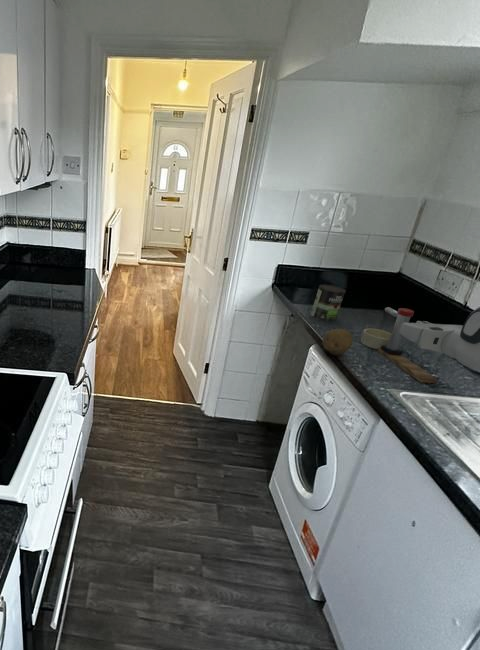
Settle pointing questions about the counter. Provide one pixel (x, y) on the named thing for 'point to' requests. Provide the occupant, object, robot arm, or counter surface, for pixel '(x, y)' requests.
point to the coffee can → (327, 302)
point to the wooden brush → (410, 367)
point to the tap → (397, 330)
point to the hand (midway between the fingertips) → (420, 323)
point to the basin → (375, 338)
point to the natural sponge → (337, 341)
